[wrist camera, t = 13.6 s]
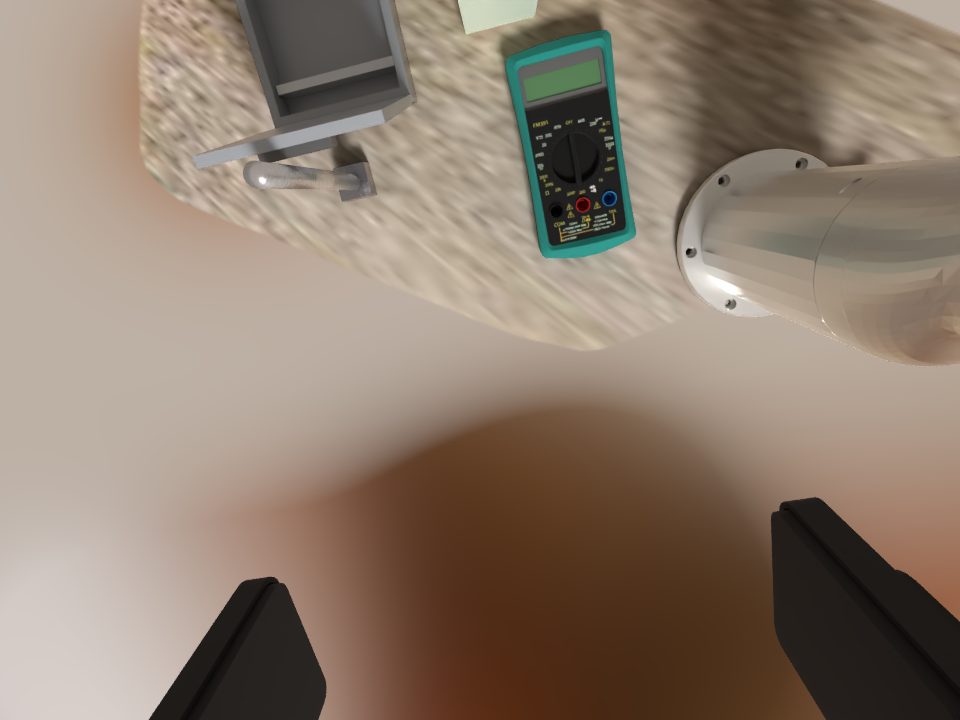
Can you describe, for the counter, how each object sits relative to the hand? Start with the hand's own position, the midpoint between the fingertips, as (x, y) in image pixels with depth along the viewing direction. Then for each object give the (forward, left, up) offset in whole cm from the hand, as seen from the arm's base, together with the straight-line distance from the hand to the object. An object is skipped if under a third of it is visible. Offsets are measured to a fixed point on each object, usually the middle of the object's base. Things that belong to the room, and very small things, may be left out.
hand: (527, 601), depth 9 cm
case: (+9, -21, -33) cm, 40 cm away
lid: (+9, -14, -24) cm, 29 cm away
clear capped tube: (+10, -10, -33) cm, 36 cm away
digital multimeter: (-7, -9, -34) cm, 36 cm away
